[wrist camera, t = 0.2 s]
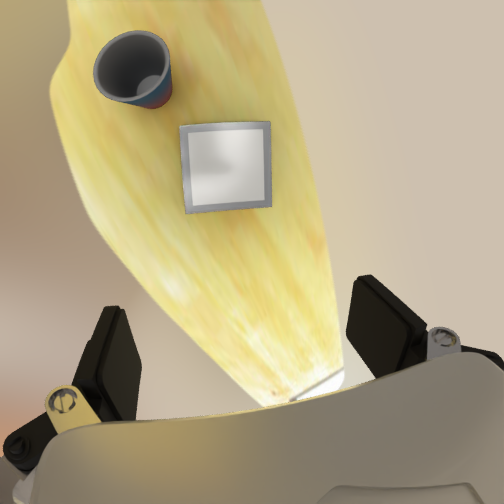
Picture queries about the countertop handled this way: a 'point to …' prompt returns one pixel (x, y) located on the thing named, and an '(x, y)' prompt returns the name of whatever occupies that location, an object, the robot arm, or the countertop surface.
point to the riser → (226, 166)
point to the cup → (135, 70)
